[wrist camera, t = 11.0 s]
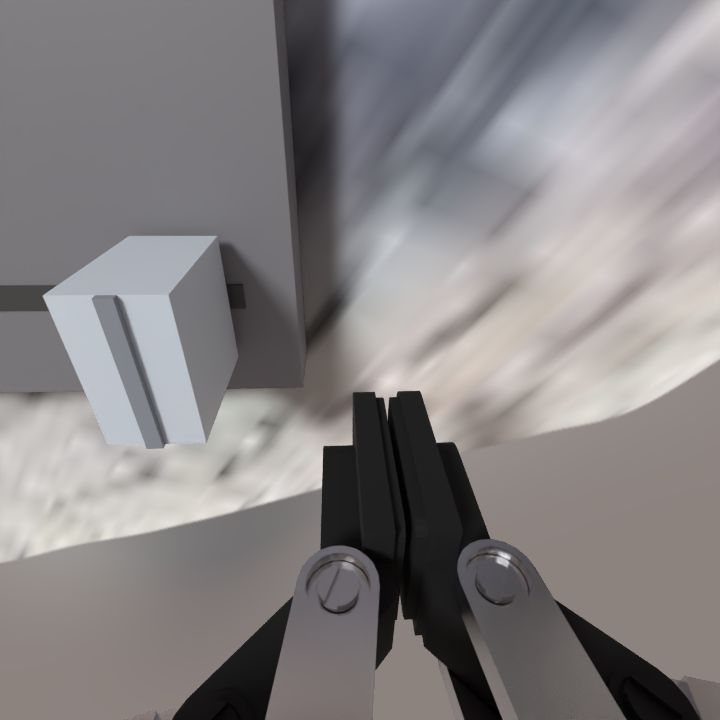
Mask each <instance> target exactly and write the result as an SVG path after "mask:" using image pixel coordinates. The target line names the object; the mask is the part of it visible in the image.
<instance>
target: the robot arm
mask: <svg viewBox="0 0 720 720" xmlns="http://www.w3.org/2000/svg"><path fill="white" fill-rule="evenodd" d="M399 595H400V597H401V605H402V612H403V617H404V619H413V626H414V632H415V635H422V637H423V643H424V647H425V648H426V649H428V650H429V651H430V652H431V653H432V654H433V655H434V656H436V657H437V658H438V663H439V668H440V672H441V675H442V678H443V681H444V684H445V688H446V691H447V693H448V697H449V700H450V703H451V706H452V709H453V712H454V716H455V719H456V720H720V683H716V682H711V681H706V680H701V679H696V678H691V677H687V676H684V677H683V678H682V679H681V680H680V681H679V680H674V679H670V678H668V677H667V676H666V675H665V674H663V673H662V672H661V671H660V670H658V669H657V668H656V667H654V666H653V665H651V664H650V663H648V662H647V661H645V660H644V659H642V658H641V657H639V656H638V655H636V654H635V653H633V652H632V651H630V650H629V649H627V648H626V647H624V646H623V645H622V644H620V643H619V642H617V641H615V640H614V639H613V638H611V637H610V636H608V635H607V634H605V633H604V632H602V631H601V630H599V629H598V628H596V627H595V626H593V625H592V624H590V623H589V622H587V621H586V620H584V619H583V618H581V617H580V616H578V615H577V614H575V613H574V612H572V611H571V610H569V609H568V608H567V607H565V606H563V605H562V604H561V603H559V602H558V601H556V600H555V599H554V598H553V597H552V595H551V593H550V592H549V590H548V588H547V587H546V585H545V583H544V582H543V580H542V578H541V577H540V575H539V573H538V572H537V570H536V568H535V567H534V566H533V564H532V563H531V562H530V560H529V559H528V558H527V557H526V556H525V555H524V554H523V553H522V552H520V551H519V550H518V549H517V548H515V547H512V546H511V545H509V544H507V543H505V542H502V541H497V540H493V539H490V537H489V534H488V532H487V529H486V526H485V523H484V520H483V518H482V515H481V512H480V509H479V507H478V504H477V501H476V499H475V496H474V493H473V490H472V488H471V485H470V482H469V479H468V477H467V474H466V471H465V468H464V466H463V463H462V460H461V457H460V455H459V452H458V449H457V447H456V445H455V444H454V443H453V442H448V443H436V440H435V437H434V434H433V431H432V427H431V424H430V421H429V418H428V414H427V411H426V408H425V405H424V401H423V398H422V395H421V392H420V391H398V392H397V397H390V398H389V408H388V421H387V415H386V409H385V404H384V398H376V396H375V392H353V445H349V446H324V448H323V479H322V515H321V550H319V551H318V552H317V553H315V554H314V555H313V556H311V557H310V558H309V559H308V560H307V562H306V563H305V564H304V565H303V567H302V569H301V571H300V574H299V576H298V579H297V583H296V588H295V592H294V596H293V597H292V598H291V599H290V600H289V601H288V602H287V603H285V605H283V606H282V607H281V608H280V609H279V610H278V611H277V612H276V613H275V614H274V615H273V616H272V617H271V618H270V619H269V620H268V621H267V622H266V623H265V624H264V625H263V626H262V627H261V628H260V629H259V630H258V631H257V632H256V633H255V634H254V635H253V636H251V637H250V638H249V639H248V640H247V641H246V642H245V643H244V644H243V645H242V646H241V647H240V648H239V649H238V650H237V651H236V652H235V653H234V654H233V655H232V656H231V657H230V658H229V659H228V660H227V661H226V662H225V663H224V664H223V665H222V666H221V667H220V668H219V669H218V670H216V671H215V672H214V673H213V674H212V675H211V676H210V677H209V678H208V679H207V680H206V681H205V682H204V683H203V684H202V685H201V686H200V687H199V688H198V689H197V690H196V691H195V692H194V693H193V694H192V695H191V696H190V697H189V698H188V699H187V700H186V701H185V703H184V704H183V705H182V706H180V707H177V708H174V709H171V710H168V711H165V712H162V713H159V714H158V713H157V712H156V710H152V711H149V712H146V713H143V714H140V715H137V716H134V717H132V718H128V719H125V720H373V703H374V685H375V684H374V683H375V670H376V669H377V668H378V666H379V665H380V664H381V662H382V661H383V660H384V658H385V657H386V656H387V654H388V653H389V652H390V650H391V649H392V643H393V634H394V624H395V620H397V613H398V604H399Z"/></svg>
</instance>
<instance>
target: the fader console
mask: <svg viewBox="0 0 720 720" xmlns="http://www.w3.org/2000/svg"><path fill="white" fill-rule="evenodd" d="M128 236H218V242H219V248H220V254H221V259H222V265H223V271H224V277H225V282H226V288H227V294H228V300H229V305H230V311H231V317H232V323H233V328H234V334H235V340H236V346H237V351H238V359H237V362H236V365H235V368H234V370H233V373H232V376H231V378H230V381H229V384H228V386H227V389H239V388H296V387H303V382H304V374H305V365H306V356H307V346H306V331H305V316H304V301H303V286H302V271H301V256H300V241H299V226H298V211H297V196H296V181H295V166H294V151H293V136H292V121H291V106H290V91H289V76H288V61H287V46H286V31H285V16H284V1H283V0H0V393H11V392H68V391H84V389H83V387H82V385H81V382H80V380H79V378H78V375H77V373H76V371H75V369H74V366H73V364H72V362H71V359H70V357H69V355H68V353H67V350H66V348H65V346H64V343H63V341H62V339H61V337H60V334H59V332H58V330H57V327H56V325H55V323H54V321H53V318H52V316H51V314H50V311H49V309H48V307H47V305H46V302H45V300H44V298H43V295H44V294H46V293H47V292H48V291H50V290H51V289H53V288H54V287H56V286H57V285H59V284H60V283H62V282H63V281H64V280H66V279H67V278H69V277H70V276H72V275H73V274H75V273H76V272H77V271H79V270H80V269H82V268H83V267H85V266H86V265H88V264H89V263H91V262H92V261H93V260H95V259H96V258H98V257H99V256H101V255H102V254H104V253H105V252H107V251H108V250H109V249H111V248H112V247H114V246H115V245H117V244H118V243H120V242H121V241H122V240H124V239H125V238H127V237H128Z"/></svg>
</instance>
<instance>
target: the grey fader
mask: <svg viewBox="0 0 720 720" xmlns="http://www.w3.org/2000/svg"><path fill="white" fill-rule="evenodd" d="M43 298H44V300H45V302H46V305H47V307H48V309H49V311H50V314H51V316H52V318H53V321H54V323H55V325H56V327H57V330H58V332H59V334H60V337H61V339H62V341H63V343H64V346H65V348H66V350H67V353H68V355H69V357H70V359H71V362H72V364H73V366H74V369H75V371H76V373H77V375H78V378H79V380H80V382H81V385H82V387H83V389H84V391H85V394H86V396H87V398H88V401H89V403H90V405H91V407H92V410H93V412H94V414H95V417H96V419H97V421H98V423H99V426H100V428H101V430H102V433H103V435H104V437H105V439H106V442H107V444H108V445H130V444H145V445H146V448H147V449H155V448H164V446H165V444H172V443H207V440H208V437H209V435H210V432H211V429H212V427H213V424H214V421H215V419H216V416H217V413H218V411H219V408H220V405H221V402H222V400H223V397H224V394H225V392H226V389H227V386H228V384H229V381H230V378H231V376H232V373H233V370H234V368H235V365H236V362H237V359H238V351H237V346H236V340H235V334H234V328H233V323H232V317H231V311H230V305H229V300H228V294H227V288H226V282H225V277H224V271H223V265H222V259H221V254H220V248H219V242H218V236H128V237H127V238H125V239H124V240H122V241H121V242H120V243H118V244H117V245H115V246H114V247H112V248H111V249H109V250H108V251H107V252H105V253H104V254H102V255H101V256H99V257H98V258H96V259H95V260H93V261H92V262H91V263H89V264H88V265H86V266H85V267H83V268H82V269H80V270H79V271H77V272H76V273H75V274H73V275H72V276H70V277H69V278H67V279H66V280H64V281H63V282H62V283H60V284H59V285H57V286H56V287H54V288H53V289H51V290H50V291H48V292H47V293H46V294H44V295H43Z"/></svg>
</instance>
